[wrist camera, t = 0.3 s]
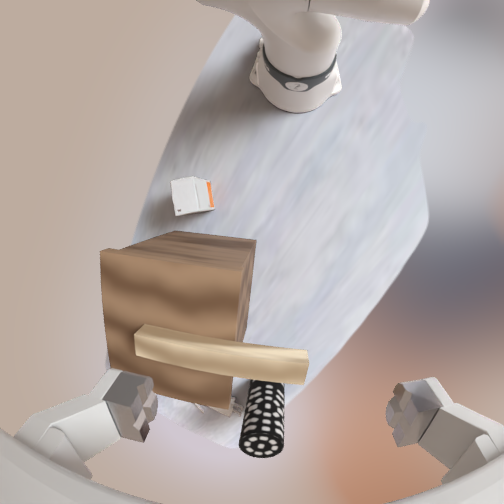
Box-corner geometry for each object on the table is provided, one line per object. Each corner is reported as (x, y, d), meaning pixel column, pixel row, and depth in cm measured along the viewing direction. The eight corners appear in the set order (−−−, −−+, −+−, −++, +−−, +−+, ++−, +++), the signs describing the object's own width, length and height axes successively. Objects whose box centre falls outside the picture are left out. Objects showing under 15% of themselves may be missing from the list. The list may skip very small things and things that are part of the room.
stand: (172, 228, 56) (100, 251, 31) (259, 237, 55) (241, 271, 30) (170, 316, 60) (113, 379, 35) (248, 329, 59) (228, 409, 34)
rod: (144, 323, 32) (134, 334, 29) (306, 350, 31) (308, 363, 28) (146, 344, 33) (136, 355, 30) (302, 370, 31) (303, 384, 28)
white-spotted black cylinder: (280, 400, 62) (277, 460, 43) (247, 394, 63) (235, 453, 43) (287, 375, 61) (288, 436, 41) (253, 369, 61) (242, 429, 41)
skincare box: (216, 209, 55) (199, 212, 43) (195, 213, 55) (174, 217, 44) (211, 179, 54) (193, 175, 42) (190, 184, 54) (168, 180, 43)
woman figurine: (236, 430, 61) (170, 408, 63) (239, 419, 65) (177, 398, 67) (246, 400, 58) (174, 377, 60) (249, 389, 63) (180, 367, 65)
